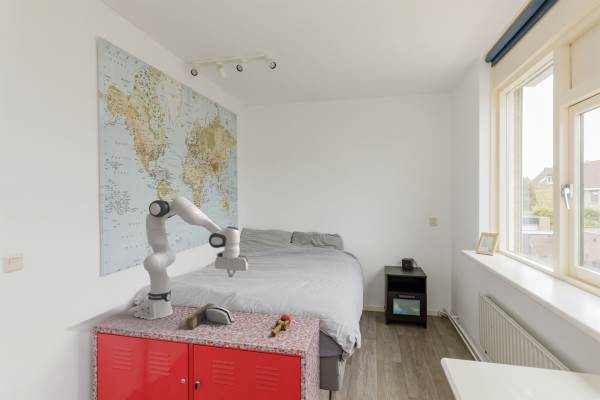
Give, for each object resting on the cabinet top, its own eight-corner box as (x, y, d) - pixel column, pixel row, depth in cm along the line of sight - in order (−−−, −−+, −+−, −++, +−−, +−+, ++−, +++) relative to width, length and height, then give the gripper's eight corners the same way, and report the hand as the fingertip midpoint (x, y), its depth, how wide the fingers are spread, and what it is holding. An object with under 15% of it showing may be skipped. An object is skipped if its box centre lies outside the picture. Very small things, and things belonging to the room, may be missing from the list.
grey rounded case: (234, 321, 175) (231, 307, 172) (229, 327, 171) (226, 312, 168) (212, 316, 182) (208, 302, 179) (207, 322, 178) (203, 308, 175)
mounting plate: (197, 326, 168) (197, 314, 168) (211, 315, 184) (211, 304, 184) (197, 326, 168) (197, 314, 168) (211, 315, 184) (211, 304, 184)
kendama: (281, 340, 154) (294, 322, 171) (278, 329, 154) (292, 312, 170) (268, 340, 157) (282, 323, 173) (265, 329, 157) (280, 312, 173)
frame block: (186, 328, 165) (186, 318, 165) (208, 312, 188) (208, 303, 188) (193, 329, 164) (193, 318, 164) (214, 313, 188) (214, 303, 188)
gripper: (250, 254, 180) (249, 277, 180) (219, 251, 184) (218, 274, 184) (246, 256, 174) (245, 280, 174) (213, 253, 178) (213, 276, 178)
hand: (231, 277), depth 179 cm, fingers closed
